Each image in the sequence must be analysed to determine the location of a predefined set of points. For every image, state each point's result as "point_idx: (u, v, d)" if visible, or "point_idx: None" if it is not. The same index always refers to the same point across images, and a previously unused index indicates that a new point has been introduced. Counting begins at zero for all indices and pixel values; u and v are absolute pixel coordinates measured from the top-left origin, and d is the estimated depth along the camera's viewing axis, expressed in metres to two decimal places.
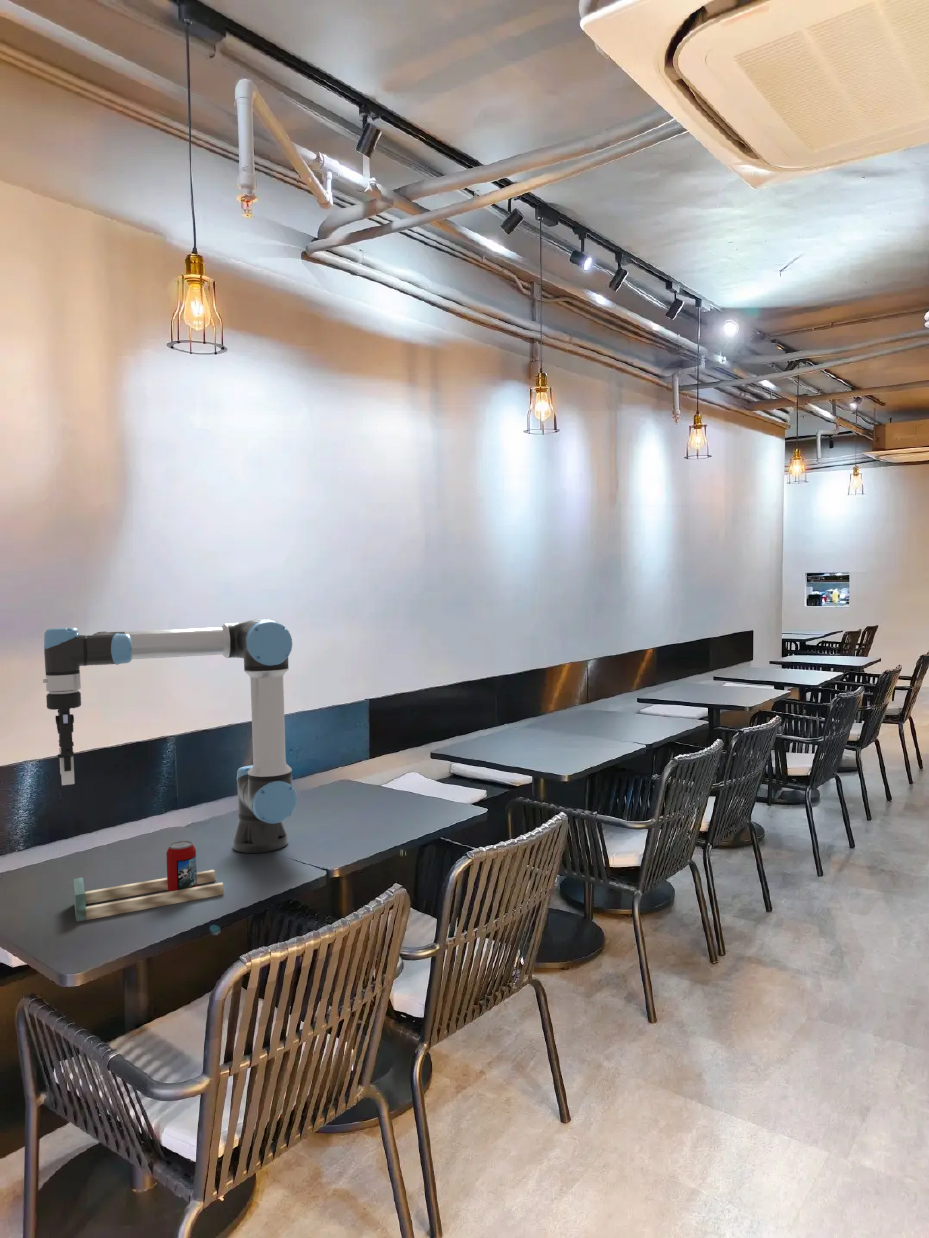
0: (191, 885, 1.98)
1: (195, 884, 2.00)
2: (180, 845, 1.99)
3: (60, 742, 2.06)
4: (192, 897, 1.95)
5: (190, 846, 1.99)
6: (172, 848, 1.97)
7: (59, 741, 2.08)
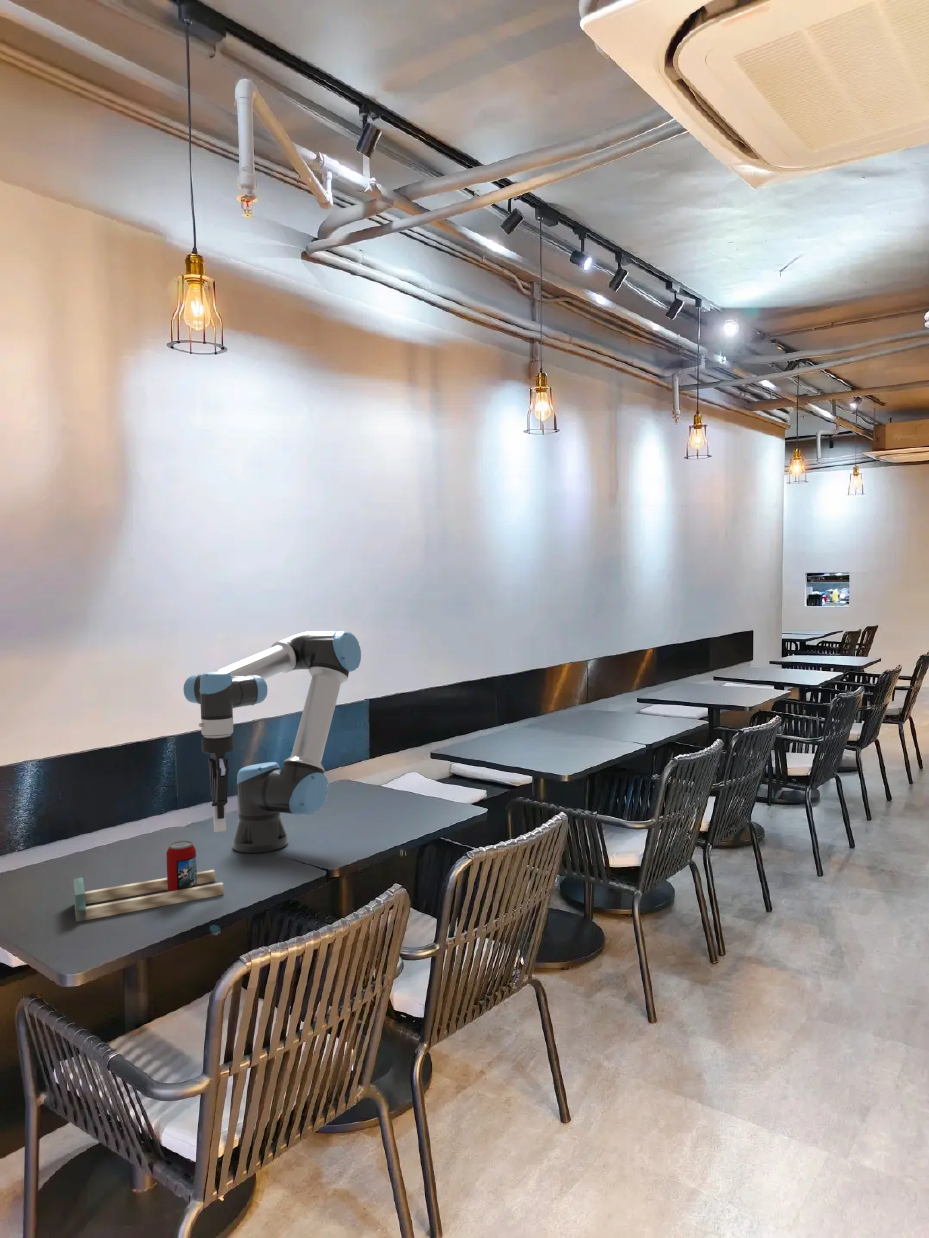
0: (191, 885, 1.98)
1: (195, 884, 2.00)
2: (180, 845, 1.99)
3: (214, 795, 2.04)
4: (192, 897, 1.95)
5: (190, 846, 1.99)
6: (172, 848, 1.97)
7: (212, 795, 2.05)
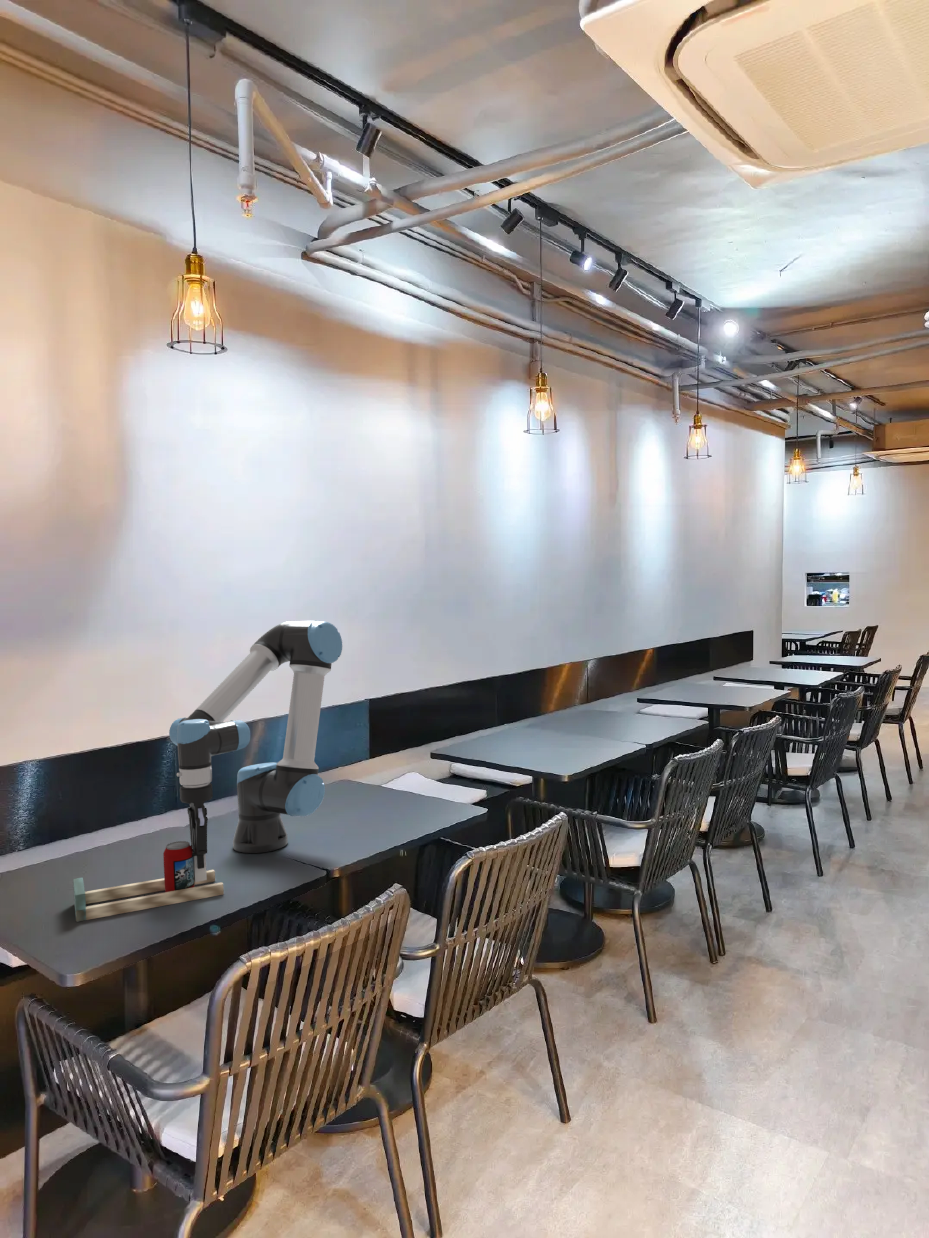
0: (188, 885, 1.98)
1: (192, 884, 1.99)
2: (177, 845, 1.99)
3: (193, 844, 2.02)
4: (192, 897, 1.95)
5: (187, 846, 1.98)
6: (169, 848, 1.97)
7: (191, 844, 2.03)
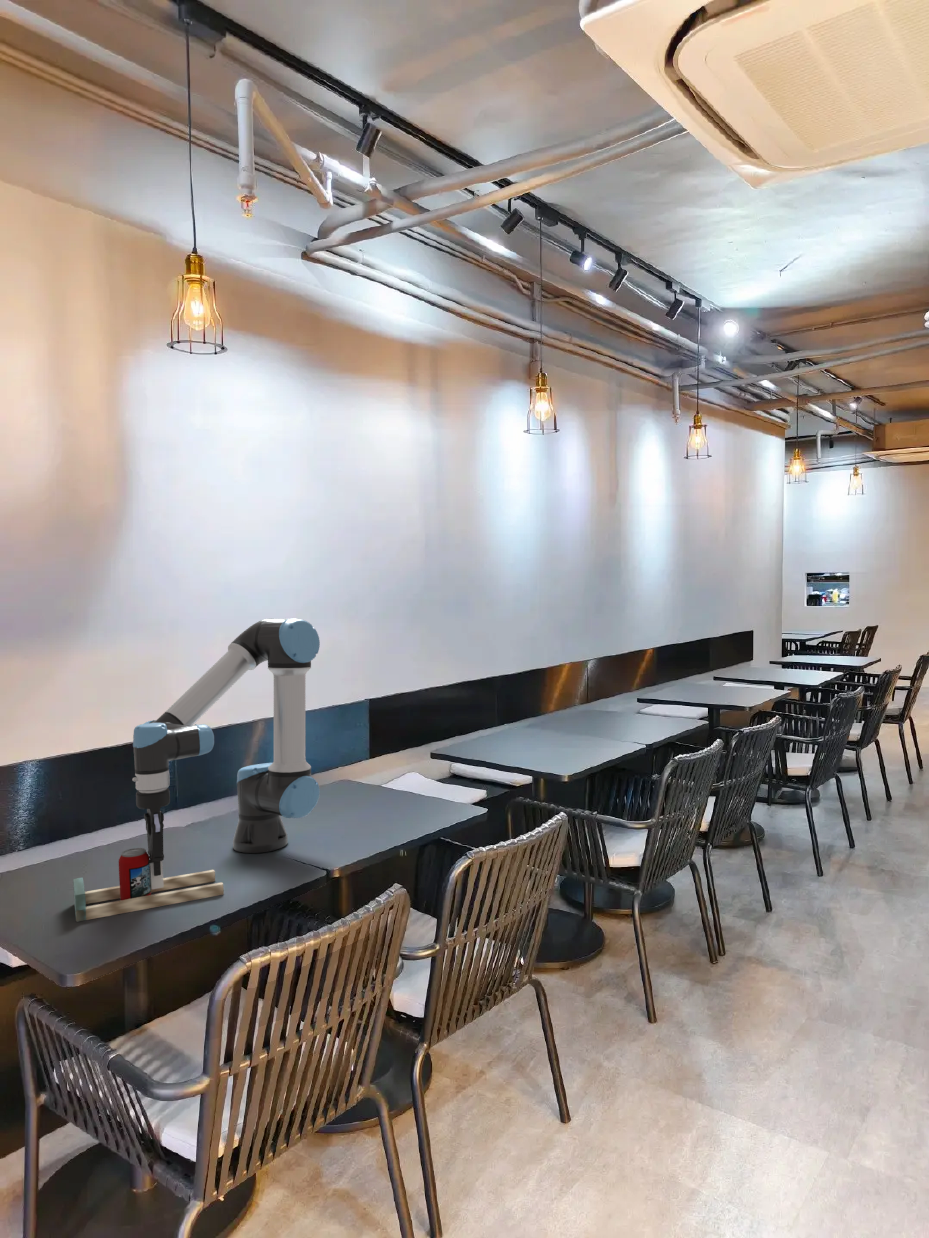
0: (144, 893, 1.93)
1: (149, 892, 1.95)
2: (133, 852, 1.94)
3: (150, 851, 1.97)
4: (192, 897, 1.95)
5: (143, 853, 1.94)
6: (124, 856, 1.92)
7: (148, 851, 1.99)
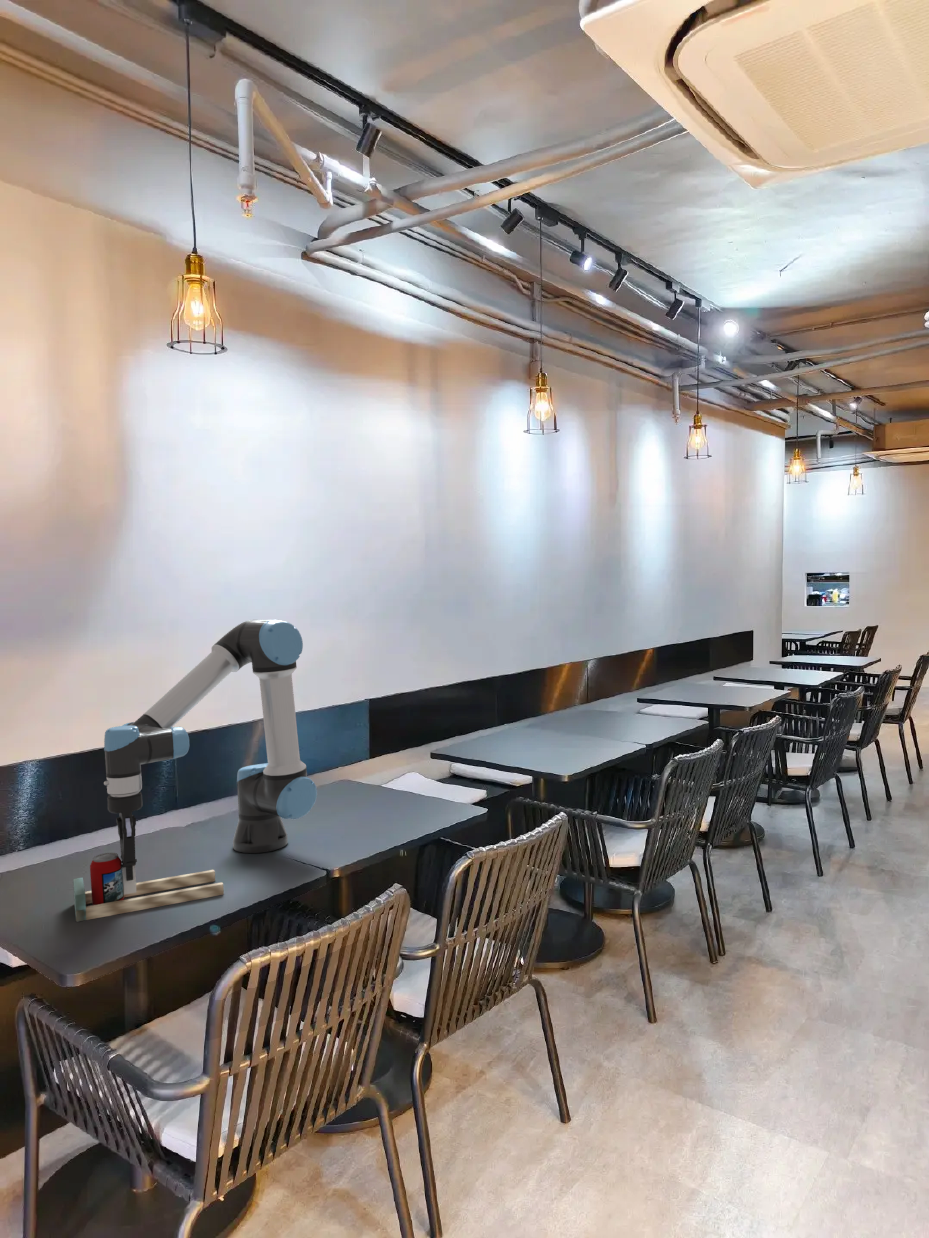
0: (117, 898, 1.90)
1: (122, 897, 1.92)
2: (105, 857, 1.91)
3: (122, 855, 1.94)
4: (192, 897, 1.95)
5: (116, 858, 1.91)
6: (96, 861, 1.89)
7: (121, 855, 1.96)
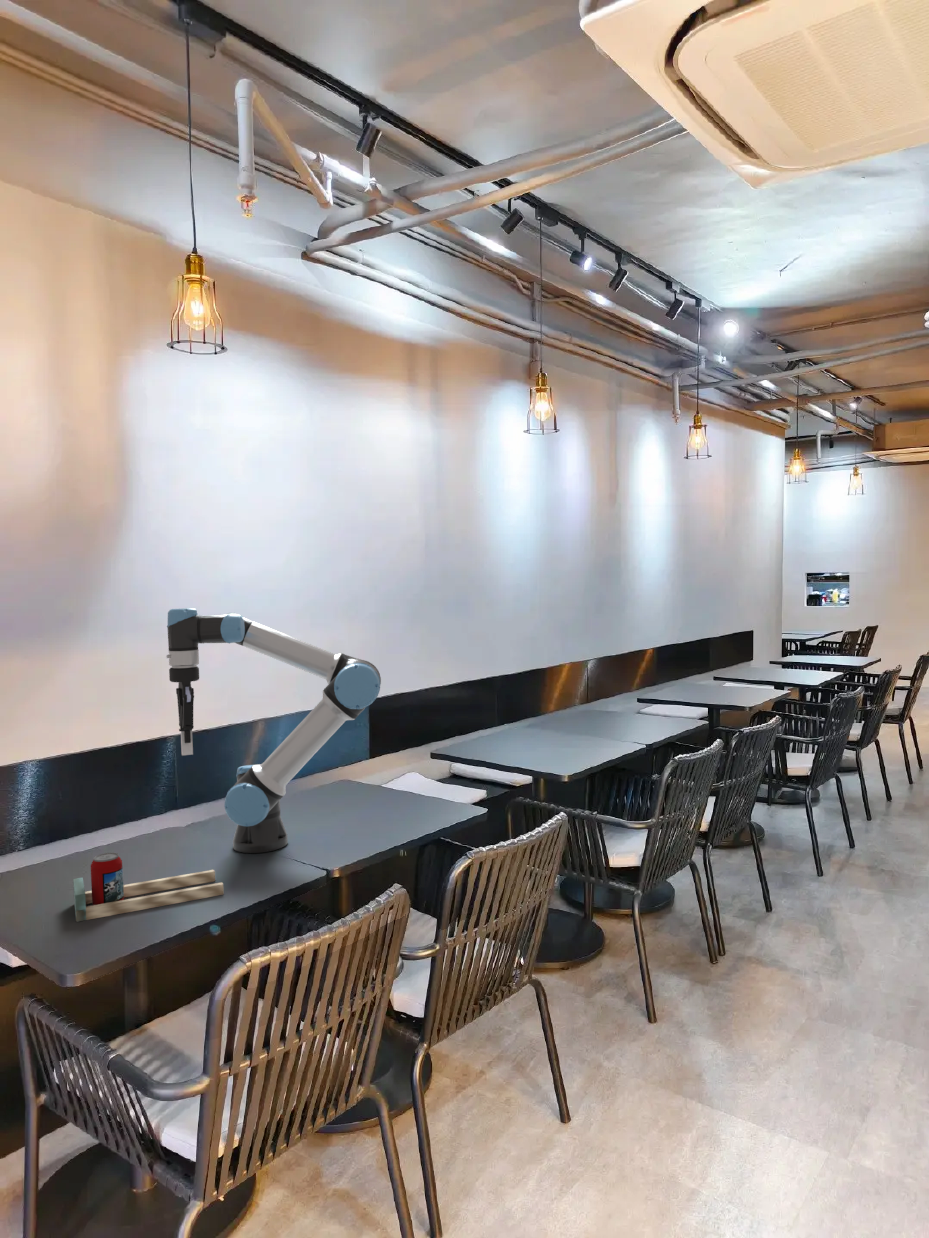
0: (118, 898, 1.91)
1: (122, 897, 1.92)
2: (105, 857, 1.91)
3: (181, 722, 2.21)
4: (192, 897, 1.95)
5: (116, 858, 1.91)
6: (97, 861, 1.89)
7: (179, 722, 2.23)
